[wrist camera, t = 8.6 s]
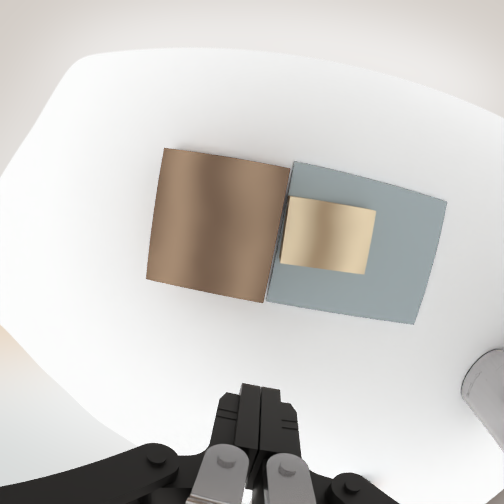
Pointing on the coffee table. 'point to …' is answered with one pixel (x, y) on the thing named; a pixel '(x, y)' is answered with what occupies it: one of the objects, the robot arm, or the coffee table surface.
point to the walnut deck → (216, 223)
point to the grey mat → (380, 253)
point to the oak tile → (326, 235)
